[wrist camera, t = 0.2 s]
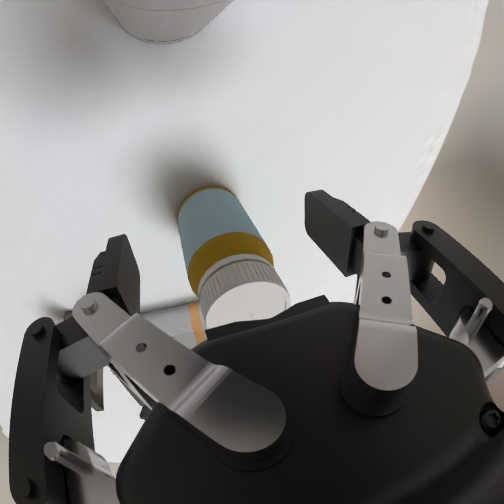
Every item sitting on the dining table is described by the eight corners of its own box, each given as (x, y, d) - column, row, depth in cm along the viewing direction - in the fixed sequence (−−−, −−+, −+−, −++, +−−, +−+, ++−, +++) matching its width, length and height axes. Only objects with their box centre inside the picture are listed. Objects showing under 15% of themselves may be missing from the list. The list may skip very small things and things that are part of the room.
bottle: (244, 231, 34) (297, 328, 22) (186, 248, 33) (213, 356, 21) (234, 176, 30) (294, 261, 18) (169, 195, 29) (185, 296, 17)
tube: (145, 337, 39) (148, 365, 35) (134, 314, 36) (135, 343, 32) (276, 306, 44) (288, 331, 40) (276, 282, 41) (290, 307, 37)
